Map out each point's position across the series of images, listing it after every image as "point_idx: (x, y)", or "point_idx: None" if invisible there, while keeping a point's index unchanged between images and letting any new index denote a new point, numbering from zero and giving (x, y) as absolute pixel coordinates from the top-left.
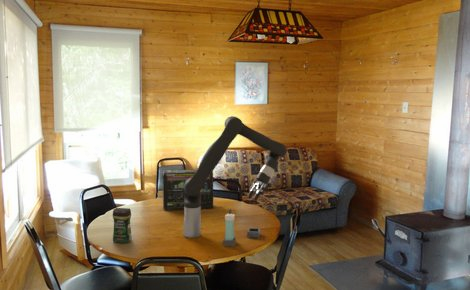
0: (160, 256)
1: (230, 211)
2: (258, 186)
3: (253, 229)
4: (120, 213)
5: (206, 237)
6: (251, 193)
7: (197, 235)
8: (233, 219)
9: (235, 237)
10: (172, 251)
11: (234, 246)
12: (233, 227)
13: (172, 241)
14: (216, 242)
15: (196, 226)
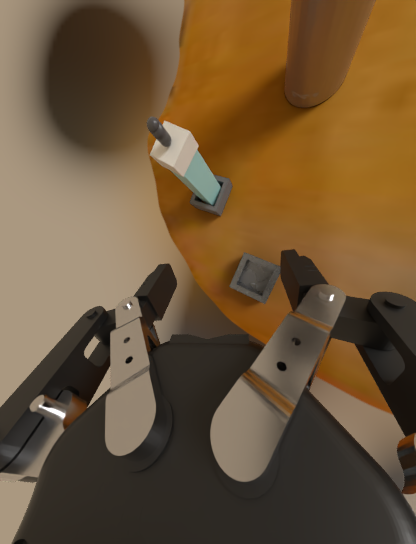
0: (180, 31)
1: (152, 133)
2: (113, 367)
3: (269, 281)
4: None
5: (280, 131)
6: (294, 293)
7: (287, 94)
8: (171, 170)
9: (213, 209)
10: (200, 52)
11: (195, 207)
12: (194, 187)
13: (271, 25)
14: (232, 163)
15: (290, 53)
